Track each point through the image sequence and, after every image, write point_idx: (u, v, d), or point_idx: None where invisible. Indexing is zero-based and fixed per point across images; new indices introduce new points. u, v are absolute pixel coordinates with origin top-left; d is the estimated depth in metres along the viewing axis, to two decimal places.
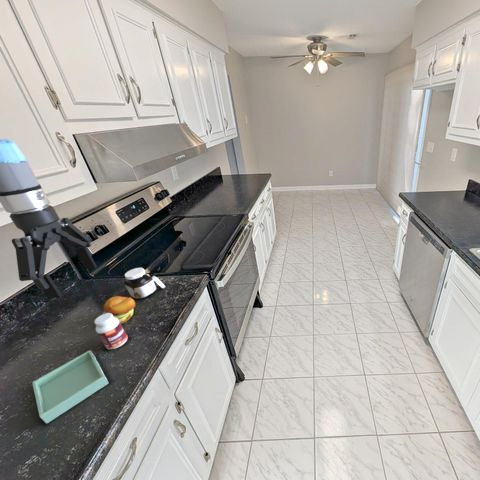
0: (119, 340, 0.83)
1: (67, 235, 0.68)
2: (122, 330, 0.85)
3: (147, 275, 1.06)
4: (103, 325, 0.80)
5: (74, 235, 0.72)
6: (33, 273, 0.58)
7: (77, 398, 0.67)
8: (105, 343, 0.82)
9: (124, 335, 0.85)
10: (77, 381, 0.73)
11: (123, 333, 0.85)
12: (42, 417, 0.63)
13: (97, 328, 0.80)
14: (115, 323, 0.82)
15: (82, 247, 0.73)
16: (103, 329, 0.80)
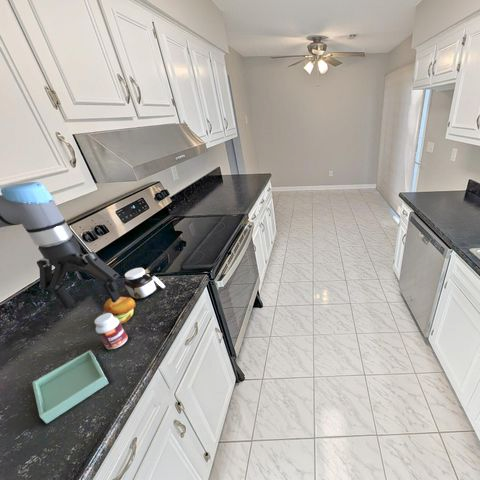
0: (119, 340, 0.83)
1: None
2: (122, 330, 0.85)
3: (147, 275, 1.06)
4: (103, 325, 0.80)
5: (47, 277, 0.72)
6: None
7: (77, 398, 0.67)
8: (105, 343, 0.82)
9: (124, 335, 0.85)
10: (77, 381, 0.73)
11: (123, 333, 0.85)
12: (42, 417, 0.63)
13: (97, 328, 0.80)
14: (115, 323, 0.82)
15: (58, 286, 0.74)
16: (103, 329, 0.80)
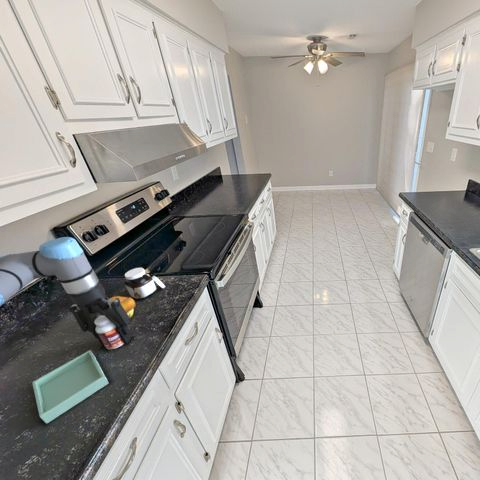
0: (119, 340, 0.83)
1: None
2: None
3: (147, 275, 1.06)
4: (103, 325, 0.80)
5: (84, 319, 0.80)
6: None
7: (77, 398, 0.67)
8: (105, 343, 0.82)
9: None
10: (77, 381, 0.73)
11: None
12: (42, 417, 0.63)
13: (97, 328, 0.80)
14: None
15: None
16: (103, 329, 0.80)
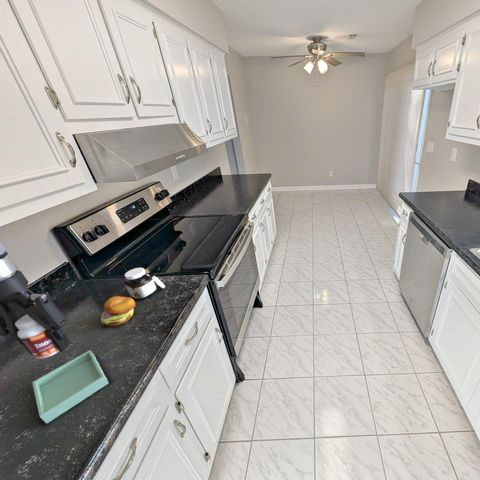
0: (52, 347, 0.65)
1: None
2: None
3: (147, 275, 1.06)
4: (27, 327, 0.61)
5: (2, 320, 0.61)
6: None
7: (77, 398, 0.67)
8: (32, 351, 0.63)
9: None
10: (77, 381, 0.73)
11: None
12: (42, 417, 0.63)
13: (19, 332, 0.61)
14: None
15: None
16: (27, 333, 0.61)
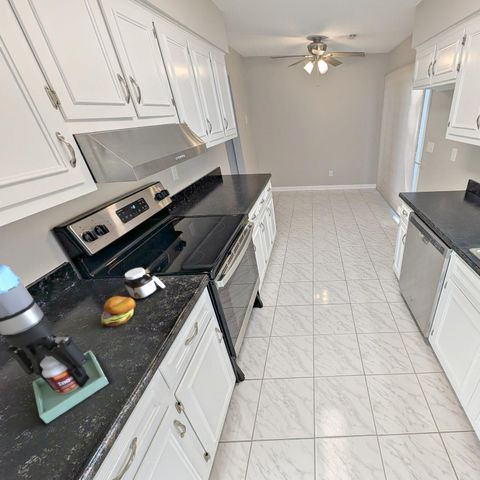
0: (73, 384, 0.70)
1: None
2: None
3: (147, 275, 1.06)
4: (51, 367, 0.66)
5: (28, 361, 0.66)
6: None
7: (77, 398, 0.67)
8: (55, 388, 0.68)
9: None
10: None
11: None
12: (42, 417, 0.63)
13: (44, 371, 0.66)
14: None
15: None
16: (51, 373, 0.66)
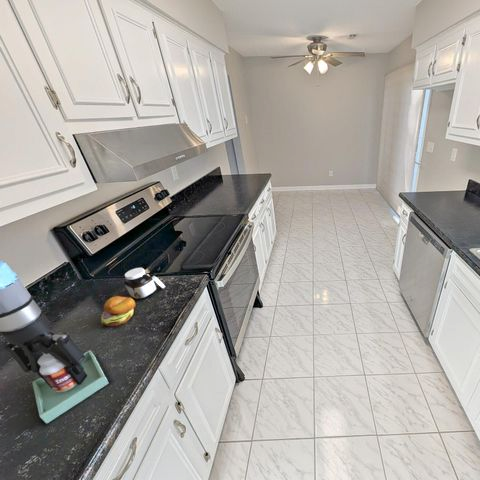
0: (71, 381, 0.69)
1: None
2: None
3: (147, 275, 1.06)
4: (49, 365, 0.65)
5: (25, 358, 0.66)
6: None
7: (77, 398, 0.67)
8: (52, 386, 0.68)
9: None
10: None
11: None
12: (42, 417, 0.63)
13: (41, 369, 0.66)
14: None
15: None
16: (49, 370, 0.65)
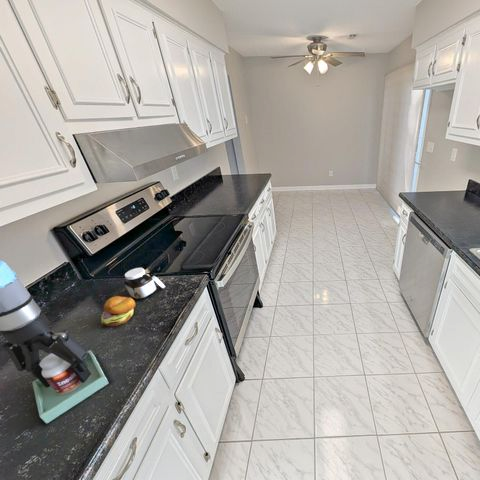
0: (73, 384, 0.70)
1: None
2: None
3: (147, 275, 1.06)
4: (50, 368, 0.66)
5: (21, 357, 0.66)
6: None
7: (77, 398, 0.67)
8: (54, 388, 0.68)
9: None
10: None
11: None
12: (42, 417, 0.63)
13: (43, 371, 0.66)
14: (67, 363, 0.68)
15: (37, 365, 0.68)
16: (51, 373, 0.66)
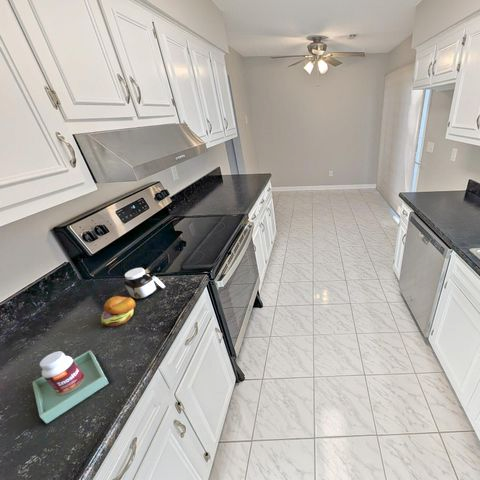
0: (73, 384, 0.70)
1: None
2: (76, 371, 0.71)
3: (147, 275, 1.06)
4: (50, 368, 0.66)
5: None
6: None
7: (77, 398, 0.67)
8: (54, 388, 0.68)
9: (79, 376, 0.71)
10: None
11: (78, 374, 0.71)
12: (42, 417, 0.63)
13: (43, 371, 0.66)
14: (67, 363, 0.68)
15: None
16: (51, 373, 0.66)
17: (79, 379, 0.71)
